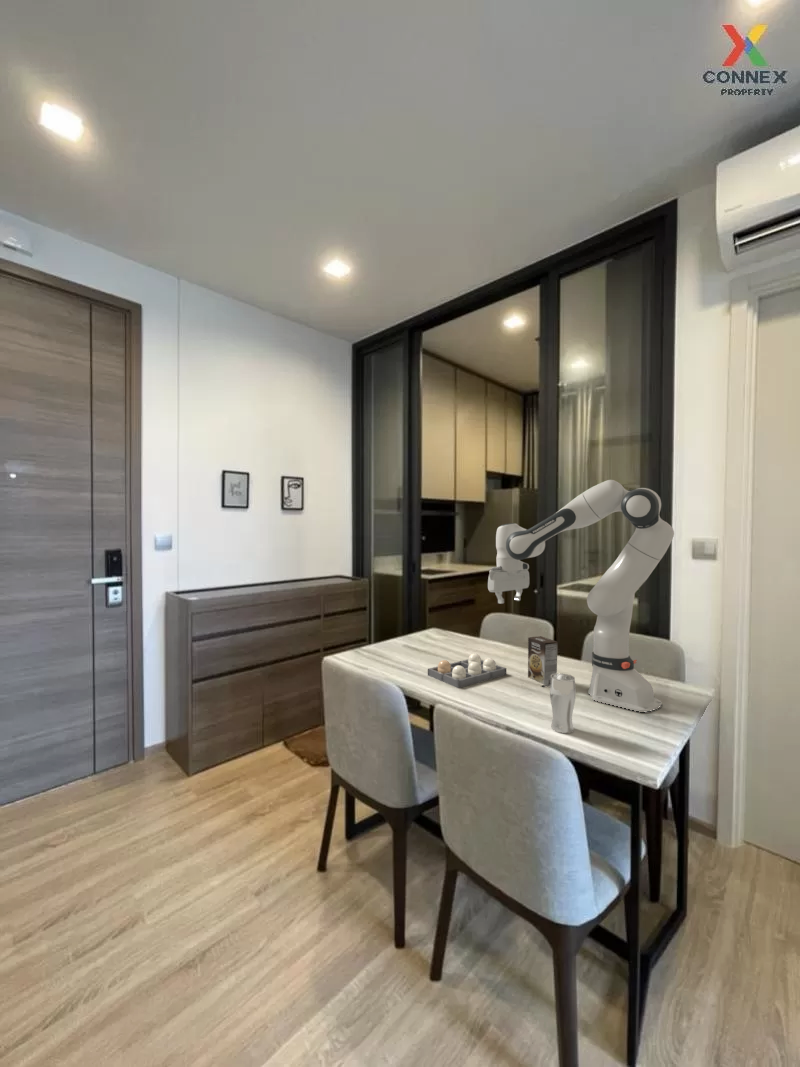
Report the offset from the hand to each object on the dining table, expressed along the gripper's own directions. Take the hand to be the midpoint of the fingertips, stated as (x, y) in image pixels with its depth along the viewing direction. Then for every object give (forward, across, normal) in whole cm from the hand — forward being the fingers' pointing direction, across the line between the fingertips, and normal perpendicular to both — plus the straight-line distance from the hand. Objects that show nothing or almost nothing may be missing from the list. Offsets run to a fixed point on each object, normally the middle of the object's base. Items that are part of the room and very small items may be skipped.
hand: (509, 602), depth 176 cm
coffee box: (+30, +5, -10) cm, 32 cm away
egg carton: (+28, -14, +10) cm, 33 cm away
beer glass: (+30, -23, -38) cm, 54 cm away
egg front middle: (+28, -14, +6) cm, 31 cm away
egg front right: (+28, -6, +6) cm, 29 cm away
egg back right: (+27, -6, +14) cm, 31 cm away
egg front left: (+28, -22, +6) cm, 36 cm away
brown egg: (+27, -22, +14) cm, 37 cm away
